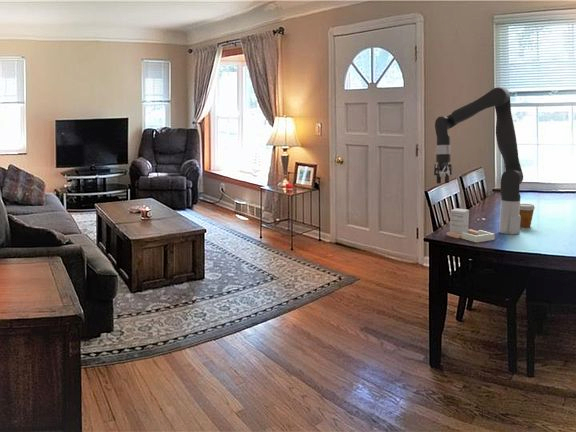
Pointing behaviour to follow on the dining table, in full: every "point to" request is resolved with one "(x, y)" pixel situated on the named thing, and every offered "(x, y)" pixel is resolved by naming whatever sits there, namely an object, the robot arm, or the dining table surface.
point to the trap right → (473, 232)
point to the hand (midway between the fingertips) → (442, 183)
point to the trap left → (454, 234)
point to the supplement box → (459, 221)
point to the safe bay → (479, 236)
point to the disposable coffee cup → (526, 215)
